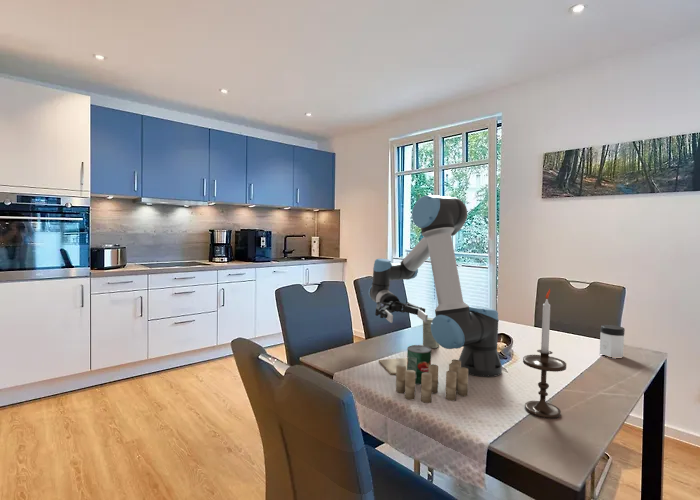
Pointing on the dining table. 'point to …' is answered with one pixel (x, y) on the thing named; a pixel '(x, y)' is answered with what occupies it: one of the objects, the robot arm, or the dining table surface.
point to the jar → (612, 340)
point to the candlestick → (544, 370)
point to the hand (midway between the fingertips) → (409, 318)
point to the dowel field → (433, 382)
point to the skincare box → (428, 335)
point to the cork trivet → (393, 364)
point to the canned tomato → (418, 361)
